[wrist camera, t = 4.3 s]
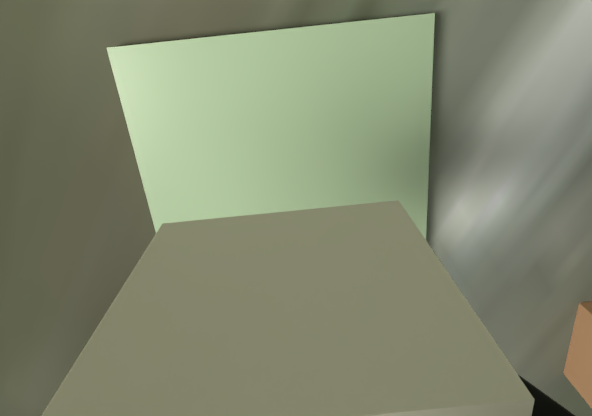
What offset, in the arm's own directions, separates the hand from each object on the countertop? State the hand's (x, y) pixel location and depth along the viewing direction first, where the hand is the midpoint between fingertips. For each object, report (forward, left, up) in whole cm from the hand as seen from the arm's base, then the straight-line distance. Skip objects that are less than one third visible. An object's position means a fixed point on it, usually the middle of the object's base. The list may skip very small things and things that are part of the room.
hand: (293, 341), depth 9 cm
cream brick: (0, 0, -1) cm, 1 cm away
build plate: (0, 0, -10) cm, 10 cm away
